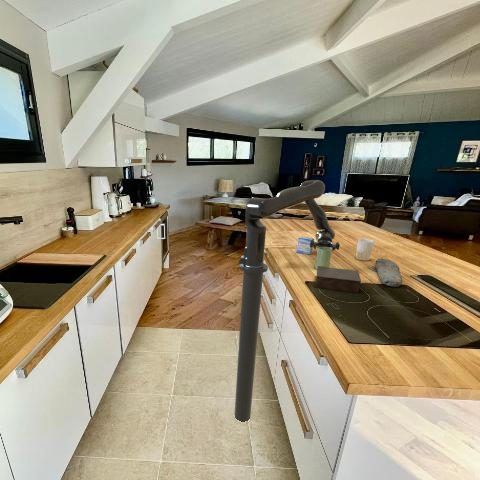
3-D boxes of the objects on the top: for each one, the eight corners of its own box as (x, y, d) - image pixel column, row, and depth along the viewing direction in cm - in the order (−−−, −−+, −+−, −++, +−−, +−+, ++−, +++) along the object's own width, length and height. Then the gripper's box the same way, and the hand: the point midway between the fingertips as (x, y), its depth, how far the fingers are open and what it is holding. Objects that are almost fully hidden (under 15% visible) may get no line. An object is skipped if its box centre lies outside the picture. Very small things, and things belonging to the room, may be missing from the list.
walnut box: (314, 287, 129) (316, 275, 127) (315, 276, 141) (317, 266, 139) (358, 293, 123) (361, 281, 121) (356, 281, 135) (358, 270, 133)
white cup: (355, 260, 165) (358, 241, 162) (353, 256, 172) (357, 238, 168) (371, 261, 163) (376, 242, 159) (369, 257, 169) (373, 239, 166)
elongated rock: (376, 288, 131) (404, 293, 127) (380, 276, 128) (408, 281, 125) (371, 262, 160) (394, 265, 156) (374, 252, 157) (397, 255, 154)
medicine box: (295, 252, 179) (297, 237, 176) (298, 251, 183) (300, 236, 179) (309, 254, 175) (312, 239, 172) (312, 253, 178) (314, 238, 175)
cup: (314, 269, 150) (317, 249, 147) (315, 265, 156) (318, 246, 152) (328, 271, 148) (331, 250, 145) (328, 267, 154) (331, 247, 150)
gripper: (311, 233, 173) (310, 239, 159) (340, 235, 168) (341, 241, 154) (310, 246, 175) (308, 253, 161) (337, 249, 170) (338, 256, 156)
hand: (324, 247), depth 157 cm, fingers open, 8 cm apart
